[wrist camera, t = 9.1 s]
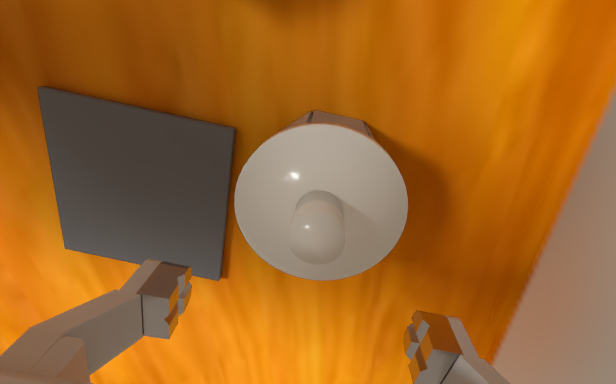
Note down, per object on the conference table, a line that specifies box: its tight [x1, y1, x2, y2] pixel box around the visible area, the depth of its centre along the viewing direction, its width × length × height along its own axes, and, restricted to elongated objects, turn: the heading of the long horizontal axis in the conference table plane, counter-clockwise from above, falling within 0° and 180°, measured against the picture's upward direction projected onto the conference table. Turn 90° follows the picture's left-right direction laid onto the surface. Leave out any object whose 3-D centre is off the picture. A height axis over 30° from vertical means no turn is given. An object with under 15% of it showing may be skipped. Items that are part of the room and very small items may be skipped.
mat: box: [37, 86, 236, 281], centre depth 25 cm, size 14×14×1 cm
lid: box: [234, 122, 408, 280], centre depth 17 cm, size 10×10×4 cm
